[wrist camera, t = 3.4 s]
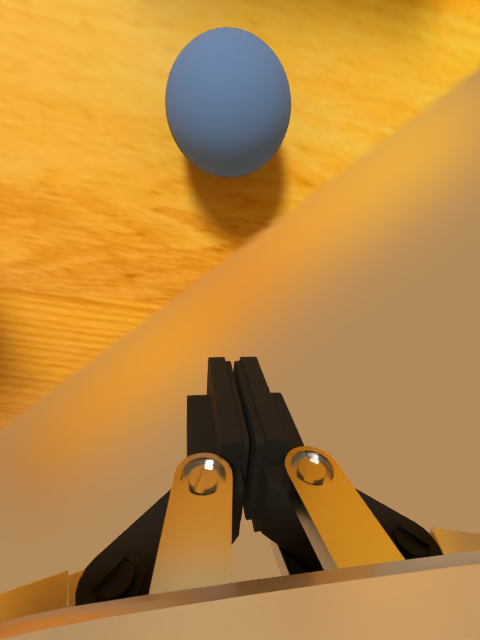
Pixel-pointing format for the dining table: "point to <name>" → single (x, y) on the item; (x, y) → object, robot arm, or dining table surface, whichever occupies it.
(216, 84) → the ball
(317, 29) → the dining table surface
